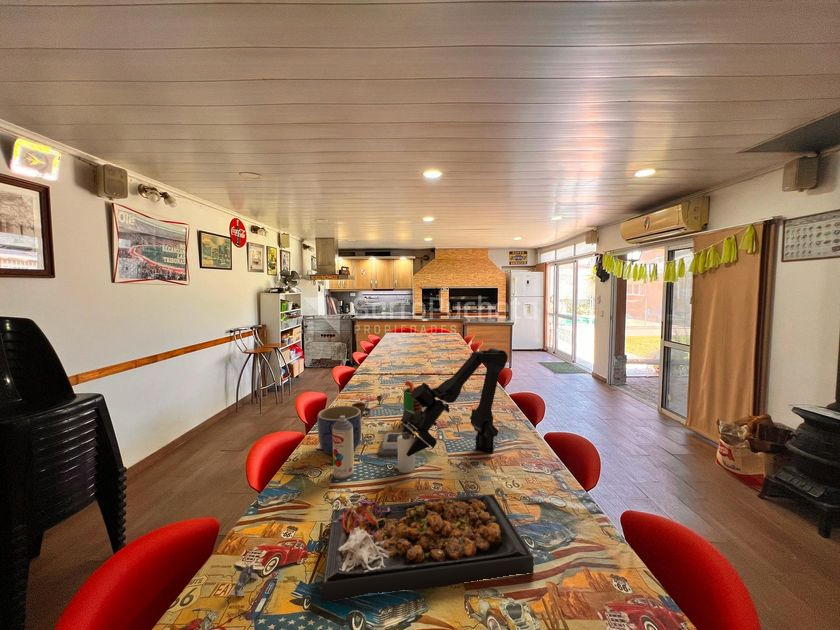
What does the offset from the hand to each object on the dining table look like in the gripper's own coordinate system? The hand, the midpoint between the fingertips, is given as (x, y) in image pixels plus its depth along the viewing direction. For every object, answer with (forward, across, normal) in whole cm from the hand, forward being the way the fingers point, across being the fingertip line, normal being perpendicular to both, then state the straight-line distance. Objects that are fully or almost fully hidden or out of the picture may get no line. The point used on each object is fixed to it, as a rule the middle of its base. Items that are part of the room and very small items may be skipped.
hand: (402, 450), depth 124 cm
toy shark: (+38, +27, -28) cm, 55 cm away
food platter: (+13, +36, -2) cm, 39 cm away
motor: (-10, -37, +20) cm, 43 cm away
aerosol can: (+18, -6, -9) cm, 21 cm away
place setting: (0, -62, +10) cm, 63 cm away
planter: (+16, -25, -6) cm, 31 cm away
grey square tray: (+1, -16, +8) cm, 18 cm away
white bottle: (+4, 0, +6) cm, 7 cm away
